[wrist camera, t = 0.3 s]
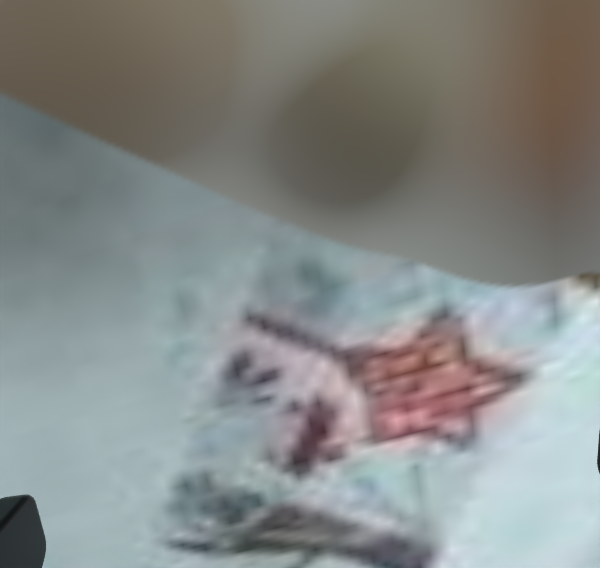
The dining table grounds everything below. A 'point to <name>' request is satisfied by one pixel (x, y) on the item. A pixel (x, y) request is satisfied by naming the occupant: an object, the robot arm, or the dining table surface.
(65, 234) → the dining table surface
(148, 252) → the dining table surface
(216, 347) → the dining table surface
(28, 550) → the robot arm
